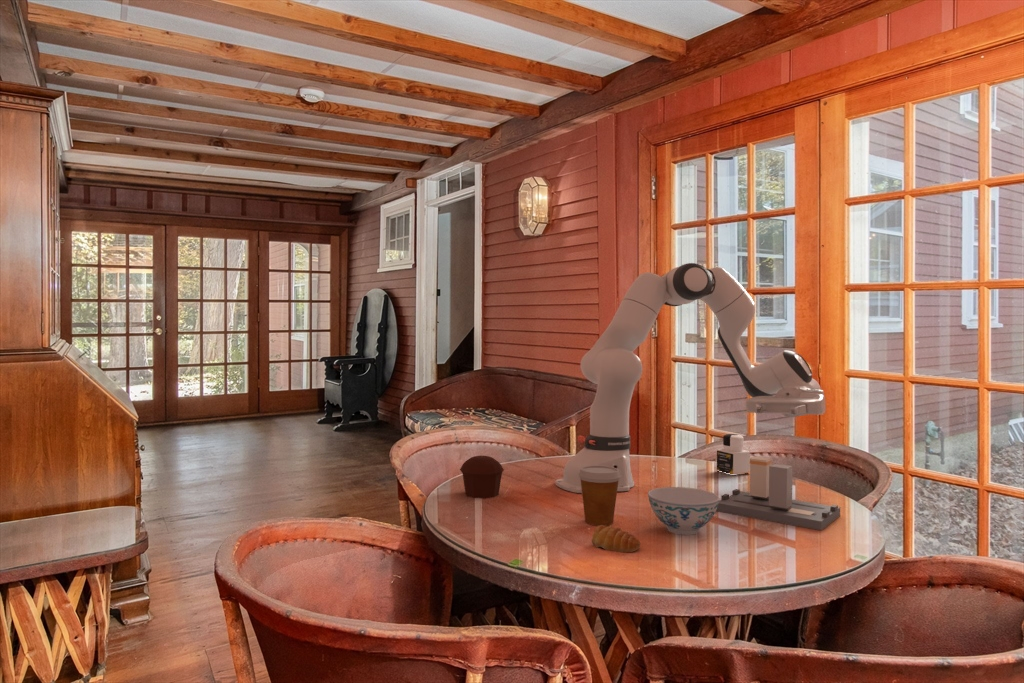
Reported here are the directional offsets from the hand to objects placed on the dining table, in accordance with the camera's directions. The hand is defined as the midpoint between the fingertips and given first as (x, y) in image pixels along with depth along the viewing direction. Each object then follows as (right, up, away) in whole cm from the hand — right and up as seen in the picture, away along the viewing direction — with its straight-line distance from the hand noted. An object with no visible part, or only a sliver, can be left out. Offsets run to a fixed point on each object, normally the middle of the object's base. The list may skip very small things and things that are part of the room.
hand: (775, 411), depth 171 cm
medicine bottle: (-1, -23, +30) cm, 38 cm away
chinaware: (-33, -23, -31) cm, 51 cm away
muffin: (-78, -22, 0) cm, 81 cm away
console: (-6, -23, -17) cm, 29 cm away
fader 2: (-7, -20, -21) cm, 30 cm away
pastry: (-50, -23, -42) cm, 69 cm away
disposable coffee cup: (-51, -23, -25) cm, 61 cm away
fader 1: (-8, -20, -11) cm, 25 cm away
